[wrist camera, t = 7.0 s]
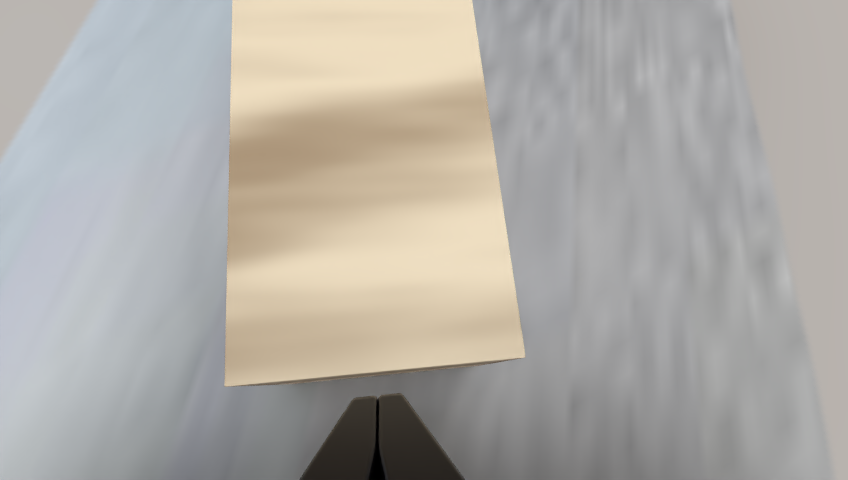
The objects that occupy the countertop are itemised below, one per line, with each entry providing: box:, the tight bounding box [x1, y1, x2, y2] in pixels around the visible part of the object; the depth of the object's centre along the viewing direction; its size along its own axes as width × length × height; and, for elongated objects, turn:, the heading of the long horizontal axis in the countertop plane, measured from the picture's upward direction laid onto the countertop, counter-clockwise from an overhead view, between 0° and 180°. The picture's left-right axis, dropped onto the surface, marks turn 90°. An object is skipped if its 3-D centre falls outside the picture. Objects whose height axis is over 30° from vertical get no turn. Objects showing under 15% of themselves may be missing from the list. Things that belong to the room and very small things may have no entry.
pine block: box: [225, 0, 525, 387], centre depth 14 cm, size 6×6×14 cm
